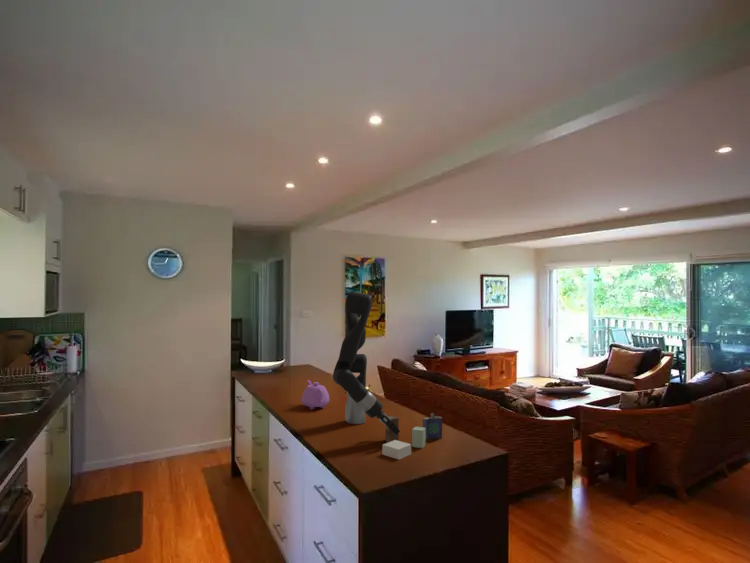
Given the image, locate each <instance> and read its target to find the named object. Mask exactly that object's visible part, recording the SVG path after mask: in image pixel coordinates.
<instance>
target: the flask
mask: <svg viewBox="0 0 750 563" xmlns="http://www.w3.org/2000/svg"><path fill="white" fill-rule="evenodd" d="M422 427H424V428H426V441H429V440H430V441H432V440H439V439H443V417H442V416H439V415H435V414H434V413H433V412H432V413H430V417H423V419H422Z"/></svg>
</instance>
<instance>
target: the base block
mask: <svg viewBox="0 0 750 563" xmlns="http://www.w3.org/2000/svg"><path fill="white" fill-rule="evenodd" d="M381 452H382V455H383V456H387V457H389V458H393V459H395V460H402V459H404V458H406V457H409V456H410V455H412V443H408V442H404V441H400V440H399V441H397V440H393V441H391V442H386V443H383V444H382V450H381Z"/></svg>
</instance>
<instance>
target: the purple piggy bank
mask: <svg viewBox="0 0 750 563" xmlns="http://www.w3.org/2000/svg"><path fill="white" fill-rule="evenodd" d="M327 390H328V389H327V388H326V387H325V386H324V385H322V384H320V383H319V382H318V381H317V382H315V381H314V382H313V383H312V381H311V380H310V379H307V386H306V388H305V389H304V391H303V393H302V396H301V403H302V404H303V405H304V406H308V407H307V408H309V409H314V410H315V408H320V409H321V408H324V407H325V408H326V406H328V404H329V402H330V395H329V392H328V391H327Z"/></svg>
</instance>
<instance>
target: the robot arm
mask: <svg viewBox="0 0 750 563" xmlns="http://www.w3.org/2000/svg"><path fill="white" fill-rule="evenodd" d="M345 297H346V298H345V304H344V305H345V317H346V318H345V319H346V326H345V327H346V328H345V337H344V338H343V340H342V343H341V347H340V350H339V356H338V359H337V361H336V364H335V367H334V369H333V373H332V379H333V381H334V382H335V383H336V384H337V385H339V386H340V387H341V388H343V390H345V392H346V401H345V402H344V404H345V407H344V408H345V409H344V421H345V422H346V423H347V424H349V425H361V424H364V423H366V415H367V417H369V418H370V419H372V418H376V419H377V420H378V421H379V422H381V423H382V424H383V425H384V426H388V427H389V429H391V430H392V431H393V432H394V433H395V434H396V435H397V434H398V433H400V428H399V429H398V428H397V427H396V426H395V425H394V423H392V422H391V419H390V418H389V417H388V416H389V415H387V413H386V412H385V411H384V410H382V409H383V408H384V405H383V403H382V402H381V400H379V399H378V398H377V397H376V396H375V395H374V394H373V393H372V392H370V391H369V390H368V389H367V381H366V380H367V365H368V358H367V355H366V354H364V353H358V351H359V350H361V348H362V347H363V346H364V344H365V342H366V338H367V337H366V335H367V331H366V325H367V323H368V319H369V316H370V313H371V309H372V306H373V297H372V295H370V294H366V293H361V292H358V291H350V292H348V293H347V295H346V296H345ZM358 315H359V316H360V318H359V317H358ZM356 373H357V374H358V376H356V375H355V374H356ZM390 423H391V425H390V426H389V424H390Z"/></svg>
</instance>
